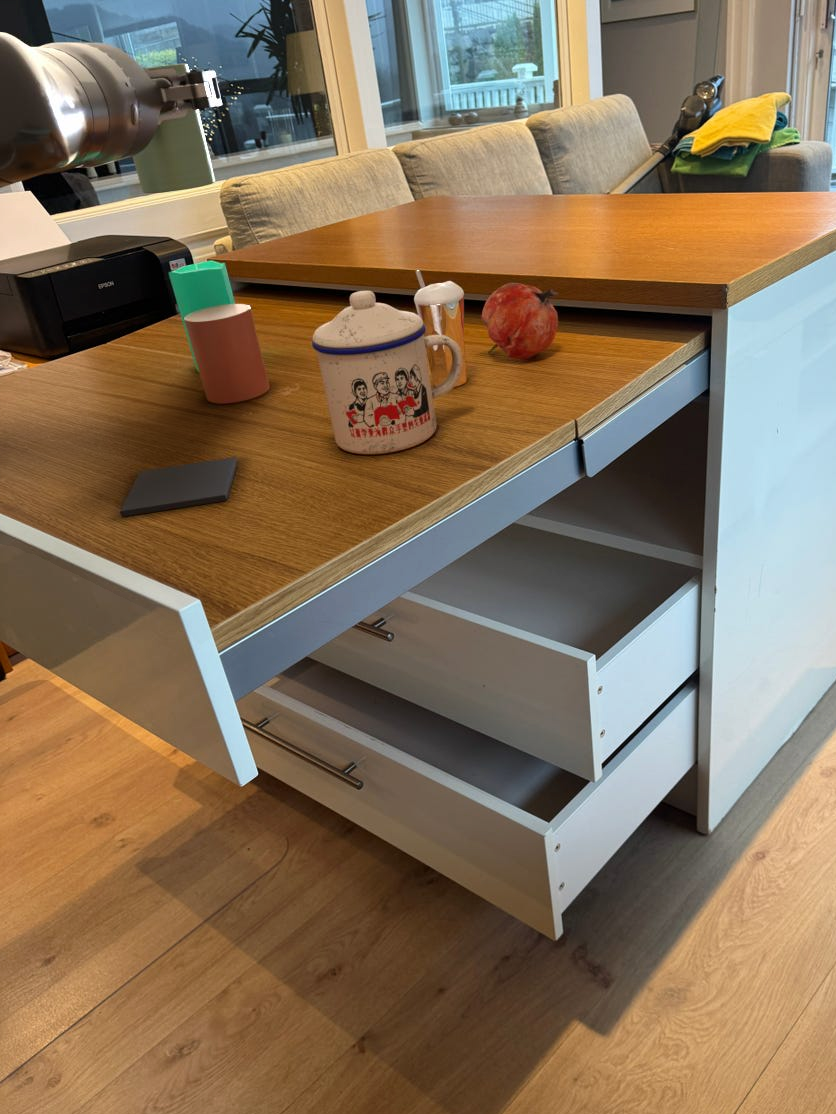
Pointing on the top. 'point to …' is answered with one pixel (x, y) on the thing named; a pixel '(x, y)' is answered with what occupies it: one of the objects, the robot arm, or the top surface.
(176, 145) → the upper tin
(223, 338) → the lower tin
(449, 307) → the milkshake
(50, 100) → the robot arm
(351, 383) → the teacup with lid
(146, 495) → the mat
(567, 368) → the top surface
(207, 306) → the candle
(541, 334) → the pomegranate
